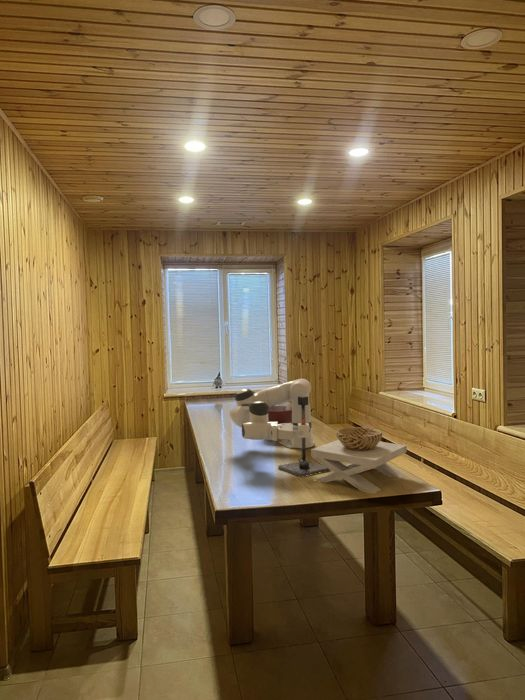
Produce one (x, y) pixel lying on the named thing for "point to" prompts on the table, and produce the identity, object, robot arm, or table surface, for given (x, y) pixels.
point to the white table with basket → (358, 456)
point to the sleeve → (304, 430)
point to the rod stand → (303, 452)
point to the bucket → (280, 414)
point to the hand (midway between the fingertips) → (302, 430)
